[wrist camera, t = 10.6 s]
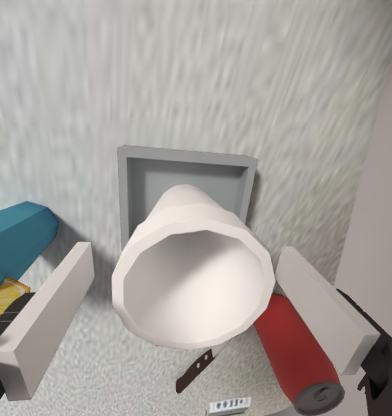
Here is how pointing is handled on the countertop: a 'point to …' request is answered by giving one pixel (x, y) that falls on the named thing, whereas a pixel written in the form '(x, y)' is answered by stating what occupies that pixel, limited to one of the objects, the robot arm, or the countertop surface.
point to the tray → (179, 180)
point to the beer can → (298, 359)
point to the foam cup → (191, 274)
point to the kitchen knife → (199, 366)
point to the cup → (22, 245)
